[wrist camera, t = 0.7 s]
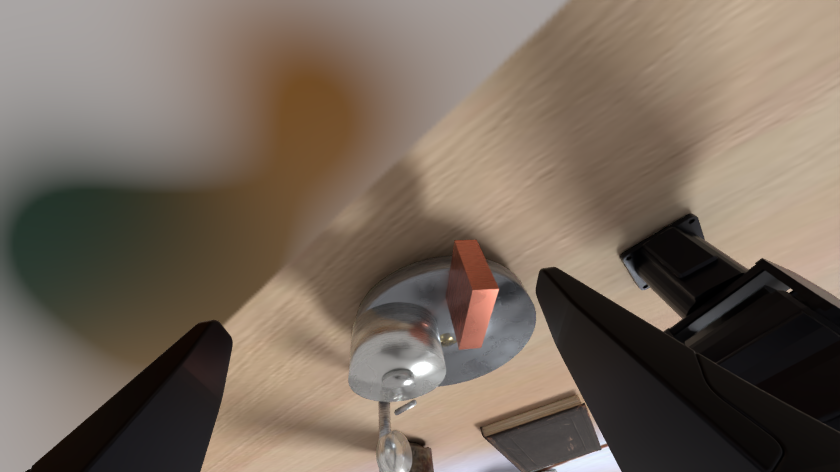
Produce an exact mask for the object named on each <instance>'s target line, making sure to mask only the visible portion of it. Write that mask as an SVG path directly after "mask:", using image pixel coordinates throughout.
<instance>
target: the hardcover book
mask: <svg viewBox="0 0 840 472" xmlns="http://www.w3.org/2000/svg"><path fill="white" fill-rule="evenodd" d="M480 428H481V433H482V436H483V437H484V438H485V439H486V440H487V441H488V442H489V443H491V444H492V445H493V446H494V447H495V448H496V449H497V450H498V451H499V452H500V453H502V454H503V455H504V456H505V457H506V458H507V459H508V460H509V461H510V462H511V463H512V464H514V465H515V466H516V467H517V468H518V469H519V470H520V471H521V472H530V471H533V470H536V469H540V468H543V467H546V466H549V465H553V464H556V463H559V462H562V461H566V460H569V459H572V458H576V457H579V456H582V455H585V454H589V453H592V452H595V451H598V450H601V446H600V443H599V441H598V438H597V435H596V432H595V430H594V427H593V424H592V421H591V419H590V416H589V413H588V410H587V408H586V405H585V403H583V404H581V402H580V399H579V398H578V396H577V395H575V396H572V397H569V398H566V399H563V400H560V401H557V402H554V403H551V404H549V405H546V406H543V407H540V408H537V409H534V410H531V411H528V412H525V413H522V414H519V415H516V416H514V417H511V418H508V419H505V420H502V421H499V422H496V423H493V424H490V425H487V426H484V427H480Z"/></svg>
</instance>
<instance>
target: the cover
mask: <svg viewBox="0 0 840 472" xmlns="http://www.w3.org/2000/svg"><path fill="white" fill-rule="evenodd" d="M445 375H446V366H445V361H444V356H443V351H442V346H441V341H440V337H439V332H438V327H437V322H436V319H435V317H434V316H433V314H432V313H431V312H430V311H428V310H427V309H425V308H424V307H421V306H419V305H416V304H412V303H405V302H394V303H387V304H382V305H379V306H376V307H373V308H371V309H369V310H367V311H366V312H364V313H363V314H361V315H360V316H359V317H358V318H357V320H356V321H355V323H354V325H353V327H352V336H351V350H350V364H349V378H348V382H349V386H350V387H351V389H352V390H353V391H354V392H355V393H356V394H358V395H360V396H361V397H364V398H366V399H370V400H374V401H382V402H396V401H404V400H409V399H413V398H416V397H419V396H422V395H424V394H426V393H428V392H430V391H432V390H433V389H435V388H436V387H437V386H438V385H439V384H440V383H441V382H442V381H443V379H444V378H445Z"/></svg>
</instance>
